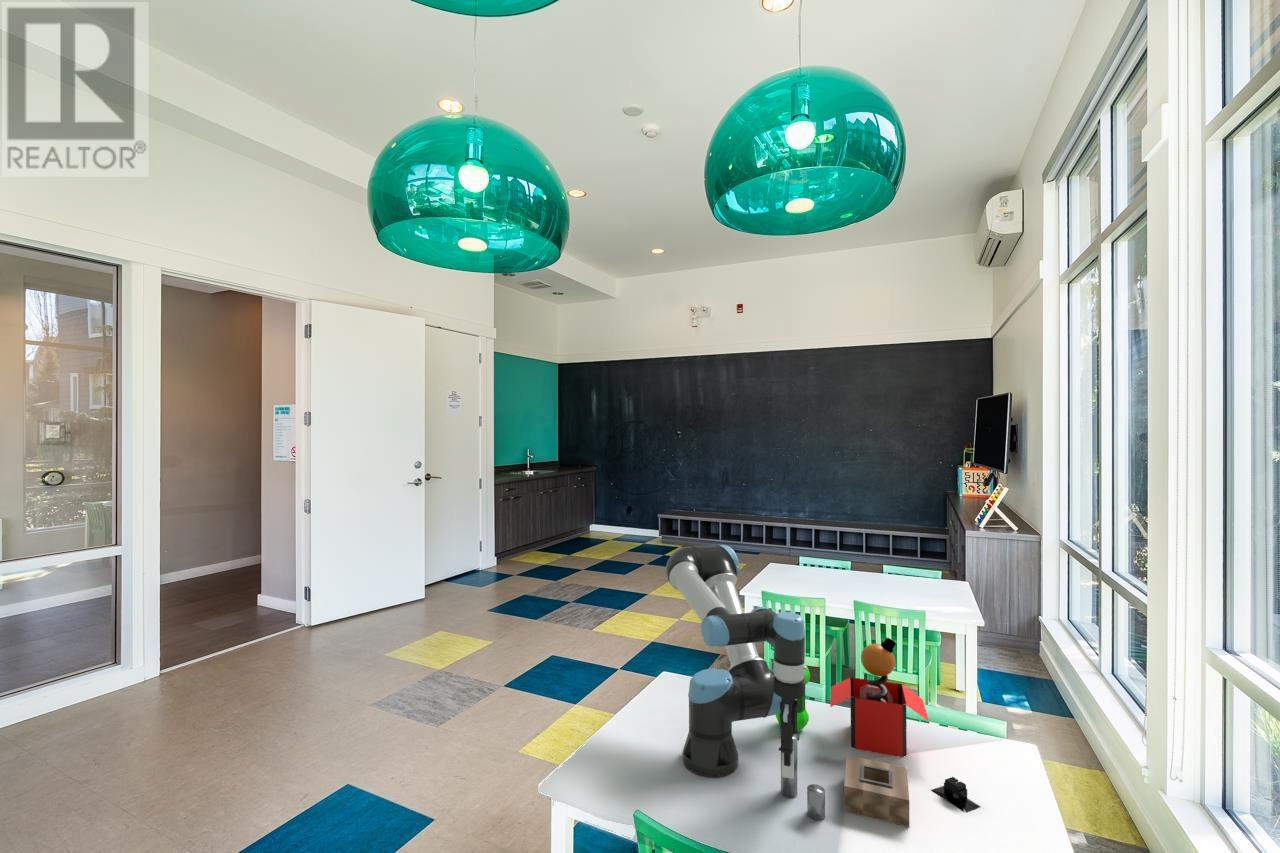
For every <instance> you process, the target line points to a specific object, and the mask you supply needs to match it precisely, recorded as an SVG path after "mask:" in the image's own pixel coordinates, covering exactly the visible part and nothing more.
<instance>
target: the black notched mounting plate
mask: <svg viewBox="0 0 1280 853" xmlns="http://www.w3.org/2000/svg"><path fill="white" fill-rule="evenodd" d="M930 791H931V792H932V793H934V794H936V795H937V797H940V798H941V799H943V800H945V801H947V802H948V803H949V804H951V805H952V806H954V807H956V808H957V809H959V810H960V811H962V812H963V813H965V814H967V813H969V812H972V811H975V810H977V809H979V808H981V805H978V804H977V803H975V802H974V801H972V800H971V799H969V798H968V789H967V784H966V783H964V782H962V781H959V779H958V778H955V777H954V776H951V777H949V778H946V779H944V782H943V785H942V786H939V787H936V788H932V789H930Z"/></svg>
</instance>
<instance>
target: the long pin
mask: <svg viewBox="0 0 1280 853" xmlns="http://www.w3.org/2000/svg"><path fill="white" fill-rule="evenodd" d="M797 736H798V735H797V734H794V733H793V751H794V778H793V779H790V778H786V777H782V752H781V751H780V793H781V795H783V796H784V797H785V798H796V797H797V796H798V741H797Z"/></svg>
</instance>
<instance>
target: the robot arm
mask: <svg viewBox="0 0 1280 853" xmlns="http://www.w3.org/2000/svg"><path fill="white" fill-rule="evenodd" d="M739 565H740V562H739V558H738V556H737V554H736V552H735V550H734V549H733V548H732V547H731V546H729V545H726V544H719V543H718V544H717V543H715V544H713V545H694V546H693V545H692V546H690V545H688V546H684V547H680V548H678V549H677V550H675V551H673V553H672V554H671V555H670V556H669V559H668V560H667V562H666V566H665V574H666V578H667V581H668V582H669V584H670V585H671V587H672V588H673V589H675V590H677V591H679V592H680V593H681V595H682V596H683V598H684V599H685V600H686V602H687V603H688V605H689V606H690V607H691V609H692V610H693V612H694V613H695V614H696V616H697V617H698V619H699V620H700V621H701V625H700V631H701V632H700V633H701V636H702V639H703V642H704V644H705V645H706V646H708V647H709V648H710V647H711V648H712V647H720V648H721V647H723V648H724V647H725V651H726V653H727V654H726V655H727V657H728V660H729V663H730V666H729V668H728V670H726V669H724V668H723V669H722V668H705V669H703V670H700V671H698V672H696V673H695V674H693V676H692V677H691V678H690V680H689V688H688V694H687V695H688V733H687V737H686V739H685V743H684V745H683V748H682V763H683V766H684V767H685V768H686V769H687V770H689V771H691V772H692V773H694V774H696V775H699V776H702V777H708V778H710V777H711V778H717V777H718V778H719V777H724V776H727V775H730V774H732V773H734V772H735V771H736V770H737V769H738V767H739V752H738V749H737V746H736V742H735V739H734V737H733V732H732V730H733V722H738V721H747V720H753V719H754V720H755V719H759V718H761V719H762V718H763V719H764V718H766V719H767V717H771V716H776V715H775V714H777V713H779V711H780V710H781V713H780V724H779V725H780V747H778V751H780V753H781V752H782V777H786V778H790V779H793V778H794V751H793V733H794V734H796V735H797V734H798V732H797V707H798V700H797V699H799V698H801V697H803V696H804V694H805V695H806V685H805V681H804V670H805V671H806V670H807V667H808V666H807V665H806V666H807V667H806V666H804V663H805V653H806V652H805V651H806V649H805V648H806V647H805V646H806V630H805V620H804V619H805V618H803V616H802V615H800V614H798V613H794V612H790V611H782V612H781V611H780V612H775V611H774V610H772V609H770V608H767V607H765V606H758V607H755V608H754V609H753V610H751V611H750V612H744V608H743V606H742V603H741V600H740V597H739V595H738V591H737V588H736V586H735V585H736V584H737V582H738V577H739V575H740V572H741V571H740V566H739ZM762 642H763V643H764V642H766V643H768V644H769V645H771V646H773V660H772V661H773V667H772V668H773V669H772V668H769V666H768V662H767V661H766V659H764V658H763V657H760V655H759V653H758V650H757V647H756V643H762ZM799 741H800V736H799V735H797V742H799Z"/></svg>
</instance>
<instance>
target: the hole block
mask: <svg viewBox="0 0 1280 853" xmlns="http://www.w3.org/2000/svg"><path fill="white" fill-rule="evenodd" d="M908 778H909V777H908V767H906V766H900V765H896V764H891V763H885V762H881V761H876V760H872V759H865V758H863V757H862V758H861V757H857V756H851V755H847V757H846V766H845V776H844V784H843V785H844V786H843V789H844V790H843V793H844V794H843V797H844V798H843V804H844V805H843V807H844V808H843V809H844V810H843V811H844V813H845V812H846V813H851V814H854V815H859V816H864V817H866V818H869V819H875V820H879V821H883V822H888V823H892V824H897V825H900V826H903V827H904V826H905V827H907V828H910V792H909V791H910V790H909V779H908Z"/></svg>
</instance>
